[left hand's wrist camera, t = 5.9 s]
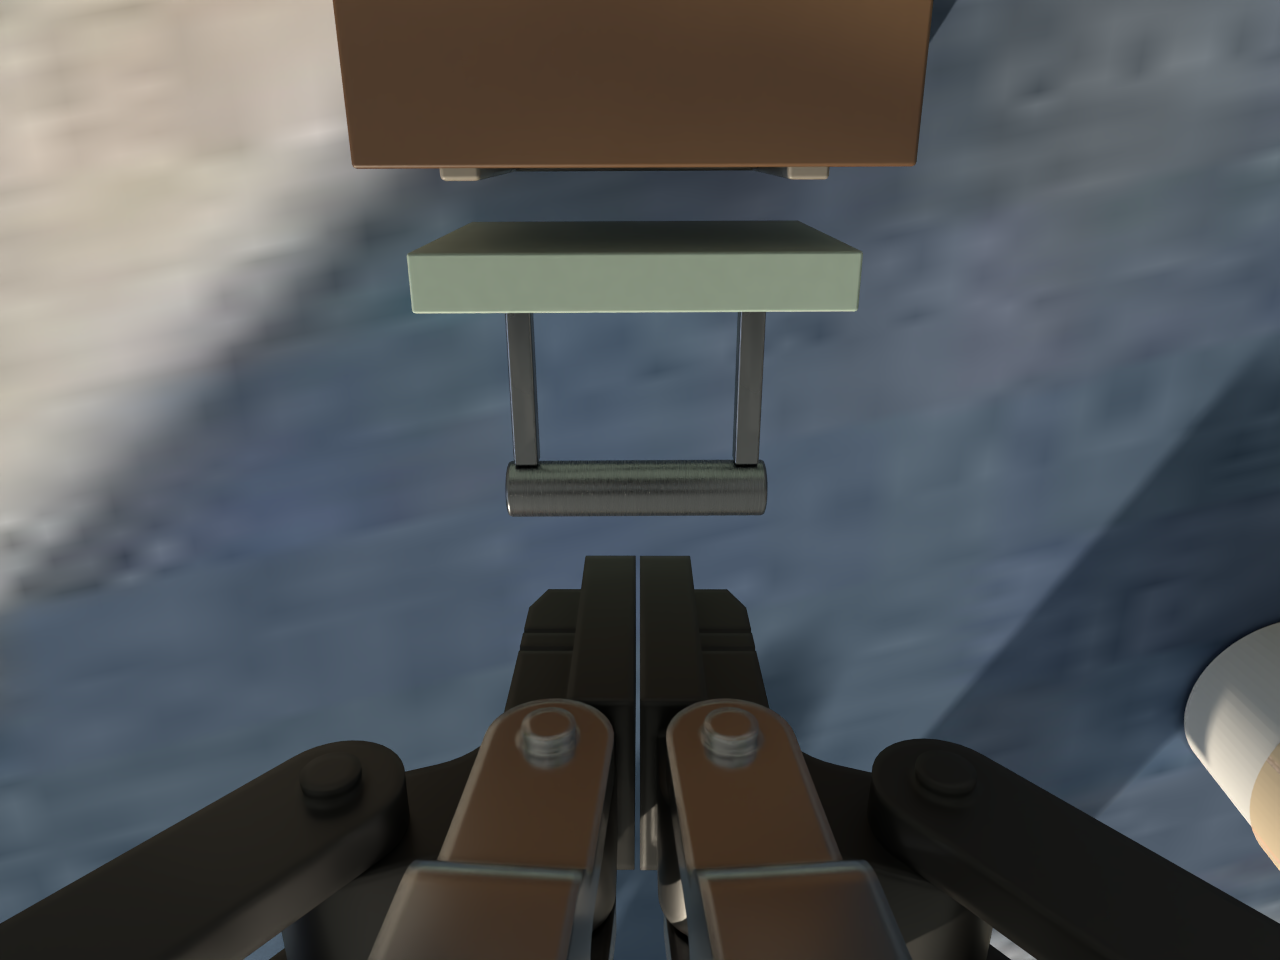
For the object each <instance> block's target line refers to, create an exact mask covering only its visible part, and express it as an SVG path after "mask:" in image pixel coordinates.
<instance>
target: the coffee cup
mask: <svg viewBox="0 0 1280 960" xmlns="http://www.w3.org/2000/svg"><path fill="white" fill-rule="evenodd" d="M1184 727H1185V733H1186V737H1187V740H1188V743H1189V745H1190V747H1191V749H1192V750H1193V752H1194V753H1195V754H1196V756H1197V757H1198V758H1199V760H1200V761H1201V762H1202V763H1203V765H1204V766H1205V767H1206V769H1207V770H1208V771H1209V772H1210V774H1211V775H1212V776H1213V778H1214V779H1215V780H1216V781H1217V783H1218V784H1219V785H1220V787H1221V788H1222V789H1223V790H1224V792H1225V793H1226V794H1227V796H1228V797H1229V798H1230V799H1231V801H1232V802H1233V803H1234V805H1235V806H1236V807H1237V808H1238V810H1239V811H1240V812H1241V814H1242V815H1243V816H1244V817H1245V819H1246V820H1247V821H1248V823H1249V824H1250V825H1251V826H1252V829H1253V832H1254V835H1255V837H1256V839H1257V841H1258V842H1259V844H1260V845H1261V847H1262V848H1263V850H1264V851H1265V852H1266V853H1267V855H1268V856H1269V857H1270V859H1271V860H1272V861H1273V863H1274V864H1275V865H1276V866H1277V868H1278V869H1279V870H1280V622H1279V623H1276V624H1272V625H1270V626H1267V627H1264V628H1262V629H1259V630H1257V631H1255V632H1253V633H1251V634H1249V635H1247V636H1245V637H1243V638H1242V639H1240V640H1238V641H1237V642H1235V643H1234V644H1232V645H1231V646H1230V647H1228V648H1227V649H1226V650H1224V651H1223V652H1222V653H1221V654H1220V655H1218V656H1217V657H1216V658H1215V659H1214V660H1213V661H1212V662H1211V663H1210V664H1209V666H1208V667H1207V668H1206V669H1205V670H1204V672H1203V673H1202V674H1201V676H1200V677H1199V678H1198V680H1197V682H1196V683H1195V685H1194V687H1193V689H1192V691H1191V693H1190V696H1189V698H1188V701H1187V705H1186V709H1185V716H1184Z"/></svg>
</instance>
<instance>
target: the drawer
mask: <svg viewBox="0 0 1280 960" xmlns="http://www.w3.org/2000/svg"><path fill="white" fill-rule="evenodd" d="M717 170H754V171H758V172H763V173H767V174H771V175H775V176H779V177H784V178H788V179H827V178H828V176H829V167H631V168H440V176H441V178H442V179H443V180H445V181H477V180H482V179H486V178H490V177H494V176H498V175H502V174H506V173H510V172H514V171H717ZM862 258H863V253H862V251H860V250H858V249H856V248H853V247H851V246H849V245H847V244H845V243H843V242H841V241H839V240H837V239H835V238H833V237H831V236H829V235H827V234H824V233H822V232H820V231H818V230H816V229H814V228H812V227H810V226H808V225H806V224H804V223H802V222H800V221H603V222H471V223H469V224H467V225H465V226H463V227H461V228H459V229H457V230H455V231H453V232H451V233H449V234H447V235H445V236H443V237H441V238H439V239H437V240H435V241H433V242H431V243H429V244H427V245H425V246H423V247H420V248H418V249H416V250H414V251H412V252H410V253H408V254H407V262H408V272H409V282H410V292H411V302H412V311H413V313H505V319H506V336H507V353H508V369H509V386H510V402H511V419H512V435H513V452H514V461H511V462H509V464H508V467H507V472H506V505H507V510H508V513H509V515H510V516H512V517H536V516H709V515H762V514H764V512H765V509H766V504H767V472H766V467H765V464H764V461H762V460H759V442H760V421H761V401H762V380H763V360H764V340H765V319H766V312H792V311H857V309H858V304H859V292H860V281H861V269H862ZM590 312H738V321H737V348H736V375H735V402H734V429H733V459H734V460H606V461H539V459H540V445H539V424H538V404H537V383H536V363H535V342H534V322H533V313H590Z"/></svg>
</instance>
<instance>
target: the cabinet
mask: <svg viewBox="0 0 1280 960" xmlns="http://www.w3.org/2000/svg"><path fill="white" fill-rule="evenodd" d="M333 7H334V15H335V24H336V32H337V41H338V49H339V58H340V66H341V75H342V83H343V92H344V100H345V109H346V117H347V126H348V134H349V143H350V151H351V160H352V165H353V167H354V168H356V169H402V168H631V167H861V166H914V165H915V164H916V161H917V151H918V142H919V132H920V123H921V113H922V104H923V94H924V85H925V75H926V66H927V56H928V47H929V37H930V28H931V18H932V9H933V0H333Z"/></svg>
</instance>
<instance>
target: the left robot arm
mask: <svg viewBox="0 0 1280 960" xmlns="http://www.w3.org/2000/svg"><path fill="white" fill-rule="evenodd" d="M635 727H636V556H586V557H585V564H584V572H583V579H582V587H581V589H548V590H547V591H546V592H545V593H544V594H543V595H542V596H541V597H540V598H539V599H538V600H537V601H536V602H535V603H534V604H533V605H532V606H530V607H529V611H528V615H527V620H526V624H525V628H524V633H523V636H522V640H521V644H520V651H519V653H518V657H517V661H516V665H515V669H514V674H513V678H512V682H511V686H510V690H509V694H508V699H507V703H506V707H505V711H504V713H503V714H501V715H500V716H499V717H498V718H497V719H495V720H494V721H493V723H492V724H491V725H490V726H489V728H488V730H487V732H486V734H485V736H484V739H483V741H482V744H481V746H480V747H478V748H477V749H475V750H474V751H472V752H470V753H468V754H466V755H464V756H462V757H459V758H457V759H454V760H451V761H448V762H445V763H441V764H437V765H433V766H429V767H424V768H420V769H415V770H411V771H406V772H405V770H404V766H403V763H402V761H401V759H400V758H399V757H398V755H397V754H396V753H394V752H393V751H392V750H391V749H389V748H387V747H385V746H383V745H380V744H377V743H373V742H367V741H340V742H334V743H328V744H325V745H321V746H318V747H315V748H312V749H309V750H307V751H304V752H302V753H300V754H298V755H296V756H294V757H293V758H291V759H289V760H287V761H285V762H284V763H282V764H280V765H278V766H277V767H275V768H273V769H271V770H270V771H268V772H266V773H264V774H263V775H261V776H259V777H257V778H256V779H254V780H252V781H250V782H249V783H247V784H245V785H243V786H242V787H240V788H238V789H236V790H235V791H233V792H231V793H229V794H227V795H226V796H224V797H222V798H220V799H219V800H217V801H215V802H213V803H212V804H210V805H208V806H206V807H205V808H203V809H201V810H199V811H198V812H196V813H194V814H192V815H191V816H189V817H187V818H185V819H184V820H182V821H180V822H178V823H176V824H175V825H173V826H171V827H169V828H168V829H166V830H164V831H162V832H161V833H159V834H157V835H155V836H154V837H152V838H150V839H148V840H147V841H145V842H143V843H141V844H140V845H138V846H136V847H134V848H133V849H131V850H129V851H127V852H125V853H124V854H122V855H120V856H118V857H117V858H115V859H113V860H111V861H110V862H108V863H106V864H104V865H103V866H101V867H99V868H97V869H96V870H94V871H92V872H90V873H89V874H87V875H85V876H83V877H82V878H80V879H78V880H76V881H75V882H73V883H71V884H69V885H67V886H66V887H64V888H62V889H60V890H59V891H57V892H55V893H53V894H52V895H50V896H48V897H46V898H45V899H43V900H41V901H39V902H38V903H36V904H34V905H32V906H31V907H29V908H27V909H25V910H24V911H22V912H20V913H18V914H16V915H15V916H13V917H11V918H9V919H8V920H6V921H4V922H2V923H1V924H0V960H243V959H244V958H246V957H247V956H248V955H250V954H251V953H253V952H254V951H255V950H257V949H258V948H259V947H261V946H262V945H264V944H265V943H266V942H268V941H269V940H271V939H272V938H273V937H275V936H276V935H277V934H279V933H280V932H282V936H283V941H284V946H285V948H284V949H283V950H281V951H280V952H279V953H277V954H276V955H275V956H273V957H272V958H271V959H269V960H613V957H614V948H615V940H616V876H617V870H634V855H635ZM640 870H658V897H659V903H660V906H661V908H662V911H663V913H664V940H665V948H666V957H667V960H1011V959H1009V958H1008V957H1007V956H1005V955H1004V954H1003V953H1001V952H1000V951H999V950H997V949H996V948H994V947H993V946H992V945H990V939H991V934H992V928H994V929H996V930H997V931H998V932H1000V933H1001V934H1003V935H1004V936H1005V937H1007V938H1008V939H1009V940H1011V941H1012V942H1014V943H1015V944H1016V945H1018V946H1019V947H1021V948H1022V949H1023V950H1025V951H1026V952H1027V953H1029V954H1030V955H1032V956H1033V957H1034V958H1036V959H1037V960H1280V924H1279V923H1278V922H1276V921H1274V920H1272V919H1271V918H1269V917H1267V916H1265V915H1263V914H1262V913H1260V912H1258V911H1256V910H1255V909H1253V908H1251V907H1249V906H1248V905H1246V904H1244V903H1242V902H1241V901H1239V900H1237V899H1235V898H1234V897H1232V896H1230V895H1228V894H1227V893H1225V892H1223V891H1221V890H1220V889H1218V888H1216V887H1214V886H1212V885H1211V884H1209V883H1207V882H1205V881H1204V880H1202V879H1200V878H1198V877H1197V876H1195V875H1193V874H1191V873H1190V872H1188V871H1186V870H1184V869H1183V868H1181V867H1179V866H1177V865H1176V864H1174V863H1172V862H1170V861H1169V860H1167V859H1165V858H1163V857H1162V856H1160V855H1158V854H1156V853H1154V852H1153V851H1151V850H1149V849H1147V848H1146V847H1144V846H1142V845H1140V844H1139V843H1137V842H1135V841H1133V840H1132V839H1130V838H1128V837H1126V836H1125V835H1123V834H1121V833H1119V832H1118V831H1116V830H1114V829H1112V828H1111V827H1109V826H1107V825H1105V824H1103V823H1102V822H1100V821H1098V820H1096V819H1095V818H1093V817H1091V816H1089V815H1088V814H1086V813H1084V812H1082V811H1081V810H1079V809H1077V808H1075V807H1074V806H1072V805H1070V804H1068V803H1067V802H1065V801H1063V800H1061V799H1060V798H1058V797H1056V796H1054V795H1052V794H1051V793H1049V792H1047V791H1045V790H1044V789H1042V788H1040V787H1038V786H1037V785H1035V784H1033V783H1031V782H1030V781H1028V780H1026V779H1024V778H1023V777H1021V776H1019V775H1017V774H1016V773H1014V772H1012V771H1010V770H1009V769H1007V768H1005V767H1003V766H1002V765H1000V764H998V763H996V762H994V761H993V760H991V759H989V758H987V757H986V756H984V755H982V754H980V753H978V752H976V751H974V750H972V749H970V748H967V747H964V746H962V745H959V744H955V743H951V742H947V741H942V740H936V739H911V740H905V741H901V742H898V743H894V744H892V745H890V746H888V747H887V748H885V749H884V750H883V751H881V752H880V753H879V755H878V756H877V757H876V759H875V761H874V764H873V767H872V773H871V772H866V771H862V770H857V769H853V768H848V767H844V766H839V765H835V764H832V763H828V762H824V761H822V760H819V759H816V758H814V757H811V756H809V755H808V754H806V753H804V752H802V751H801V749H800V747H799V744H798V741H797V739H796V736H795V734H794V732H793V730H792V728H791V726H790V725H789V724H788V723H787V721H786V720H785V719H783V718H782V717H781V716H780V715H779V714H777V713H776V712H774V711H772V710H771V709H769V705H768V701H767V696H766V692H765V688H764V683H763V679H762V675H761V670H760V666H759V662H758V657H757V653H756V651H755V644H754V640H753V636H752V633H751V627H750V623H749V618H748V614H747V610H746V607H745V606H744V605H743V604H742V603H741V602H740V601H739V600H738V599H737V598H735V597H734V596H733V595H732V594H731V593H730V592H729V591H728V590H727V589H694V584H693V576H692V568H691V560H690V556H640Z"/></svg>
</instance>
